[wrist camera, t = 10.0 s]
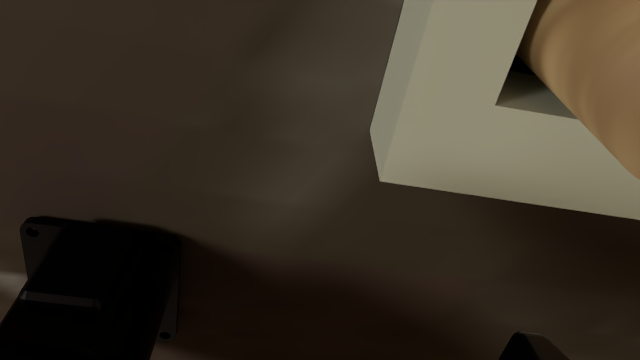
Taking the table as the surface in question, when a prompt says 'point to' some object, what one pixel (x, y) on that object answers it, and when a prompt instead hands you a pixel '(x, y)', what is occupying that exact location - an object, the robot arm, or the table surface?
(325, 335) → the table surface
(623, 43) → the peg
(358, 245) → the table surface
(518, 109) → the socket block
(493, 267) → the table surface
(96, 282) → the robot arm
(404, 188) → the table surface
